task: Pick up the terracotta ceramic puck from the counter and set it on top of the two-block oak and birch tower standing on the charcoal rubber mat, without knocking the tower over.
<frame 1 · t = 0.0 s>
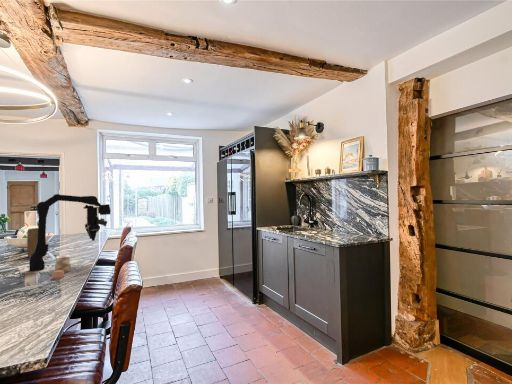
hand: (92, 239, 181), 15 cm above the kitchen island, tool pointing down, fingers open, 9 cm apart
mat: (63, 271, 161), on the kitchen island
top block: (62, 263, 161), point 4 cm above the kitchen island, touching base block
base block: (63, 270, 161), resting on mat, touching top block
block: (37, 256, 203), on the kitchen island
puck: (57, 278, 147), on the kitchen island
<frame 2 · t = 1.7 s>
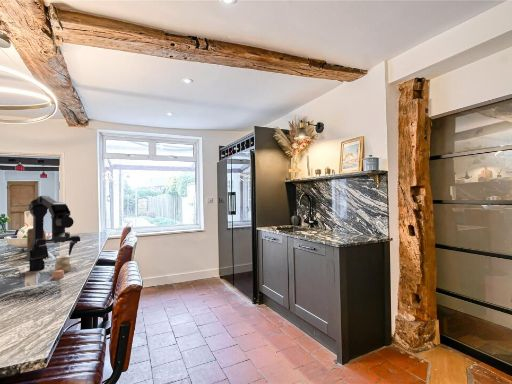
hand: (58, 256, 148), 11 cm above the kitchen island, tool pointing down, fingers open, 9 cm apart
nothing on the kitchen island moved.
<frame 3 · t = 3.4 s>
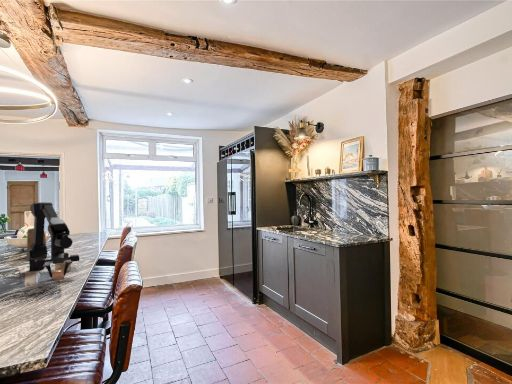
hand: (57, 276, 147), 1 cm above the kitchen island, tool pointing down, fingers closed on puck, 5 cm apart
puck: (57, 278, 147), on the kitchen island, touching gripper
everything else where it was.
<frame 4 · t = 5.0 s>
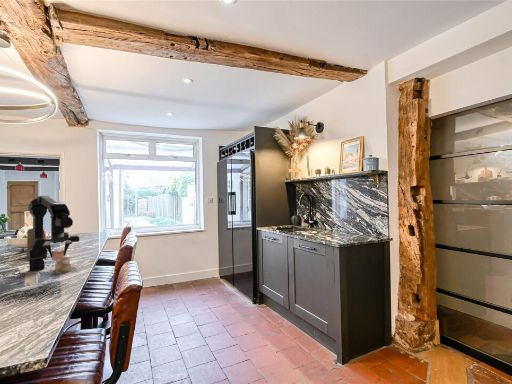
hand: (57, 256, 148), 11 cm above the kitchen island, tool pointing down, fingers closed on puck, 5 cm apart
puck: (58, 258, 148), point 10 cm above the kitchen island, touching gripper
everything else where it was.
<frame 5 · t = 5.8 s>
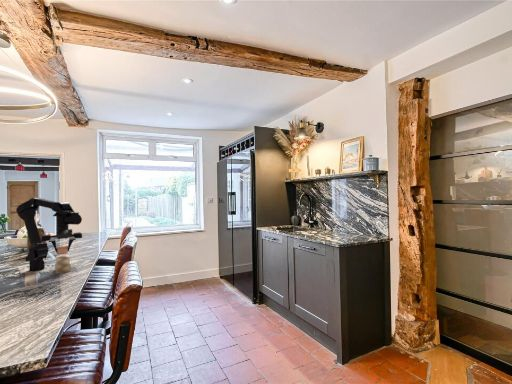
hand: (62, 251, 160), 11 cm above the kitchen island, tool pointing down, fingers closed on puck, 5 cm apart
puck: (62, 253, 160), point 10 cm above the kitchen island, touching gripper
everything else where it was.
when the fingers open (10 cm above the kitchen island, at t = 6.6 s): puck stays where it is, resting on top block.
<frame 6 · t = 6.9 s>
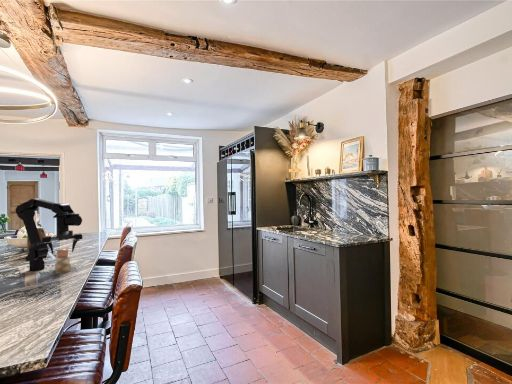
hand: (62, 253, 161), 10 cm above the kitchen island, tool pointing down, fingers open, 9 cm apart
top block: (63, 263, 161), point 4 cm above the kitchen island, touching base block, puck
puck: (62, 256, 161), point 8 cm above the kitchen island, touching top block
everything else where it was.
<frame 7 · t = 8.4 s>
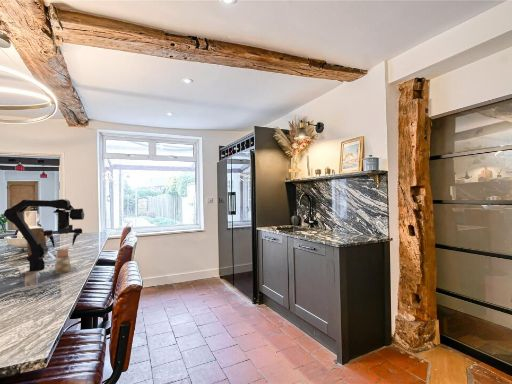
hand: (63, 246, 168), 13 cm above the kitchen island, tool pointing down, fingers open, 9 cm apart
nothing on the kitchen island moved.
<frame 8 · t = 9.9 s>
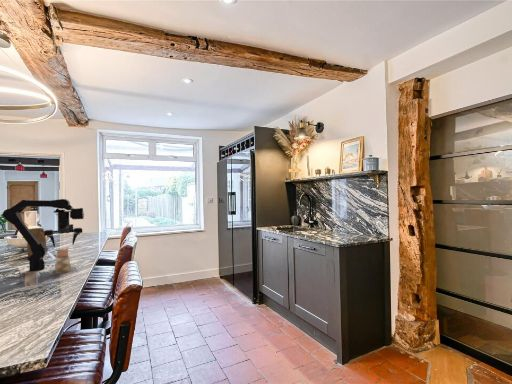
hand: (63, 245, 169), 13 cm above the kitchen island, tool pointing down, fingers open, 9 cm apart
nothing on the kitchen island moved.
at the end: puck 0.1 cm off-centre on the top block, point 4.0 cm above the top block's base; top block point 4.5 cm above the kitchen island; the gripper is holding nothing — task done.
